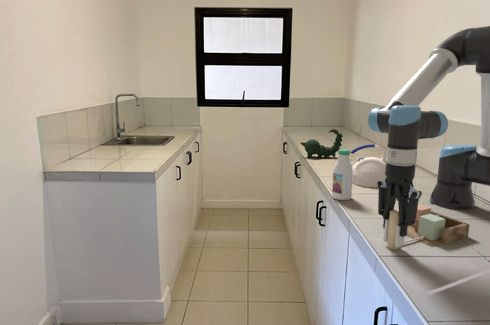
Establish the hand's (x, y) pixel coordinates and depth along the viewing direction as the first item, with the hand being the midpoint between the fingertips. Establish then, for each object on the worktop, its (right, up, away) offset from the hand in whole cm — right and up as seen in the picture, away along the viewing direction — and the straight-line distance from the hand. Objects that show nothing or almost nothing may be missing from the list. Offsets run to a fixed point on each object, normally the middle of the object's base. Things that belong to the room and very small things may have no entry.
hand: (393, 243), depth 107 cm
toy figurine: (+5, +26, +127) cm, 130 cm away
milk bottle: (-3, +8, +47) cm, 48 cm away
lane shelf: (+14, +1, +12) cm, 19 cm away
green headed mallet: (+7, -1, +4) cm, 8 cm away
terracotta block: (+15, +3, +17) cm, 23 cm away
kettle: (+17, +14, +71) cm, 74 cm away
